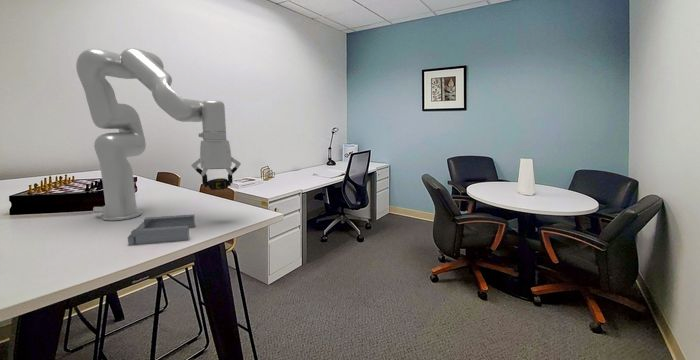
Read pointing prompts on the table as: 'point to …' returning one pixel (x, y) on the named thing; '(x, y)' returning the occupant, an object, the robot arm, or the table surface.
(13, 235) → the table surface
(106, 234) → the table surface
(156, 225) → the c-clamp
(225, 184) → the tape measure
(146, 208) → the table surface
